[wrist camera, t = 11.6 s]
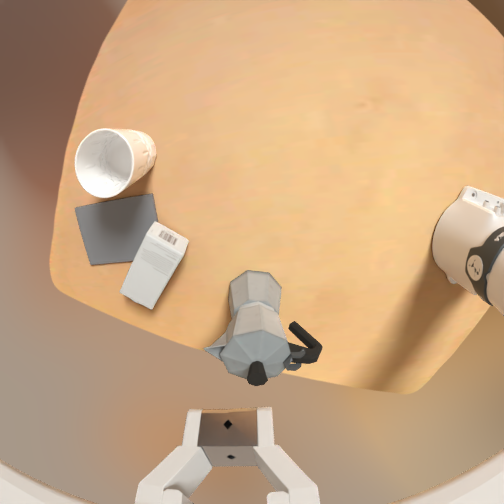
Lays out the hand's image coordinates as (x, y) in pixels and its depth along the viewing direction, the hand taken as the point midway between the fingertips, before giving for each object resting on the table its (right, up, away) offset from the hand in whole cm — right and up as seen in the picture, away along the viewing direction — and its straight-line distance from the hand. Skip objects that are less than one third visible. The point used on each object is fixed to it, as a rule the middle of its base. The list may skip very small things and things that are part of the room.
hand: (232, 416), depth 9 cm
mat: (-20, +9, +32) cm, 39 cm away
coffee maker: (+2, -1, +37) cm, 37 cm away
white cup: (-16, +20, +27) cm, 37 cm away
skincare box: (-10, +8, +29) cm, 32 cm away
